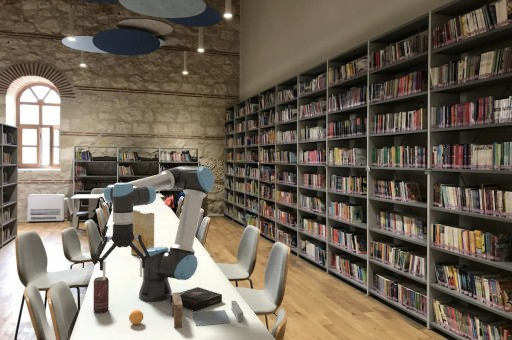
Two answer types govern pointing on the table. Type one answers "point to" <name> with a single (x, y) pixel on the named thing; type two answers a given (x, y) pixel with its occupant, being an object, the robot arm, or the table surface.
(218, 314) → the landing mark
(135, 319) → the ball
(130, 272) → the table surface
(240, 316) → the stopper
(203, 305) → the portable cd player
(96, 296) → the can
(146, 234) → the parchment
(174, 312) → the bridge
